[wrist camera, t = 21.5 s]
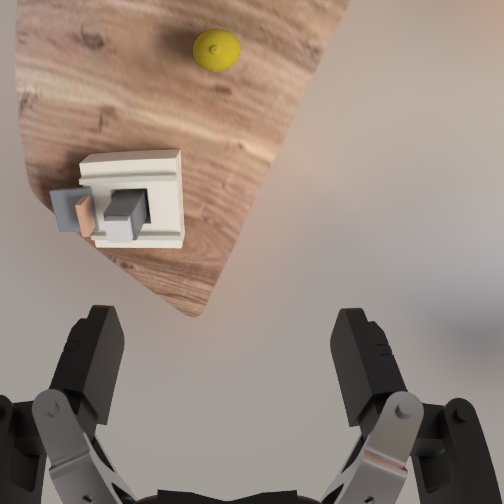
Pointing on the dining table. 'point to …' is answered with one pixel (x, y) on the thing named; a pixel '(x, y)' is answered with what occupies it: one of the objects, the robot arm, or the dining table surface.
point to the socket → (133, 177)
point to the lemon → (216, 50)
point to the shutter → (75, 210)
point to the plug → (126, 215)
